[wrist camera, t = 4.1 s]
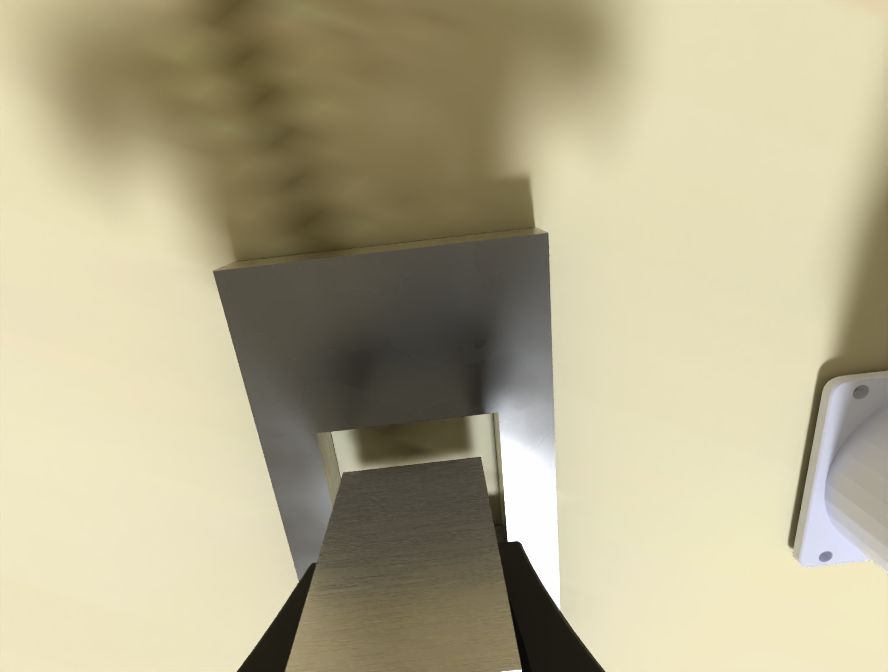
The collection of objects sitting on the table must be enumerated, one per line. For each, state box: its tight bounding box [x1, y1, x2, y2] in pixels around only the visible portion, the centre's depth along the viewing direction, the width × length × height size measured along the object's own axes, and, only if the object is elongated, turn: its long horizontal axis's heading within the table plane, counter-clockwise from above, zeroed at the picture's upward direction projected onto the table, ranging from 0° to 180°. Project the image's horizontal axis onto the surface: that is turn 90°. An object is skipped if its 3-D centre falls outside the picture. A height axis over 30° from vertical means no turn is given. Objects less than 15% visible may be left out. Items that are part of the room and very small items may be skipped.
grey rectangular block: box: [285, 457, 522, 672], centre depth 11 cm, size 4×4×6 cm
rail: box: [213, 228, 560, 610], centre depth 17 cm, size 9×30×2 cm, turn 6°
